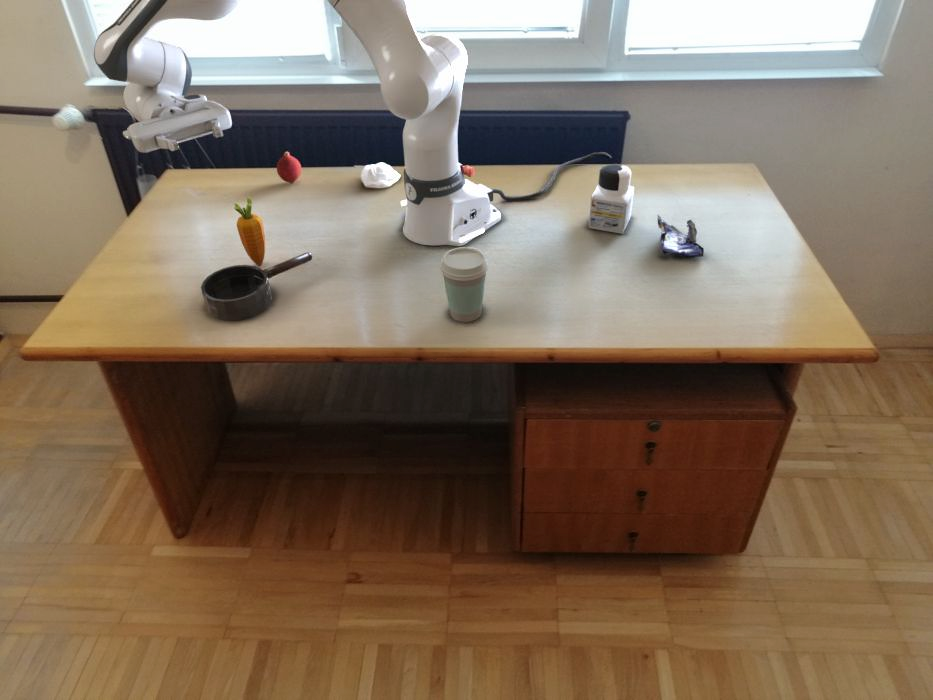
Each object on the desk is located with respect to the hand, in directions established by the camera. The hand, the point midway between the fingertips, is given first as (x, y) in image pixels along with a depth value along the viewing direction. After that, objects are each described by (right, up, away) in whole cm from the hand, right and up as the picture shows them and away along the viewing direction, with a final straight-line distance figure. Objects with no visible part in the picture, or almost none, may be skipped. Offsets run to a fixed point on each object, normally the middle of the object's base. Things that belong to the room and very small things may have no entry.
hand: (197, 139), depth 144 cm
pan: (+10, -33, -5) cm, 35 cm away
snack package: (+98, -20, +7) cm, 100 cm away
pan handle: (+18, -26, -1) cm, 32 cm away
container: (+85, -14, +15) cm, 88 cm away
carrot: (+11, -25, +5) cm, 28 cm away
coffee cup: (+54, -35, -9) cm, 65 cm away
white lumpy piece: (+33, 0, +34) cm, 47 cm away
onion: (+11, -1, +34) cm, 36 cm away
